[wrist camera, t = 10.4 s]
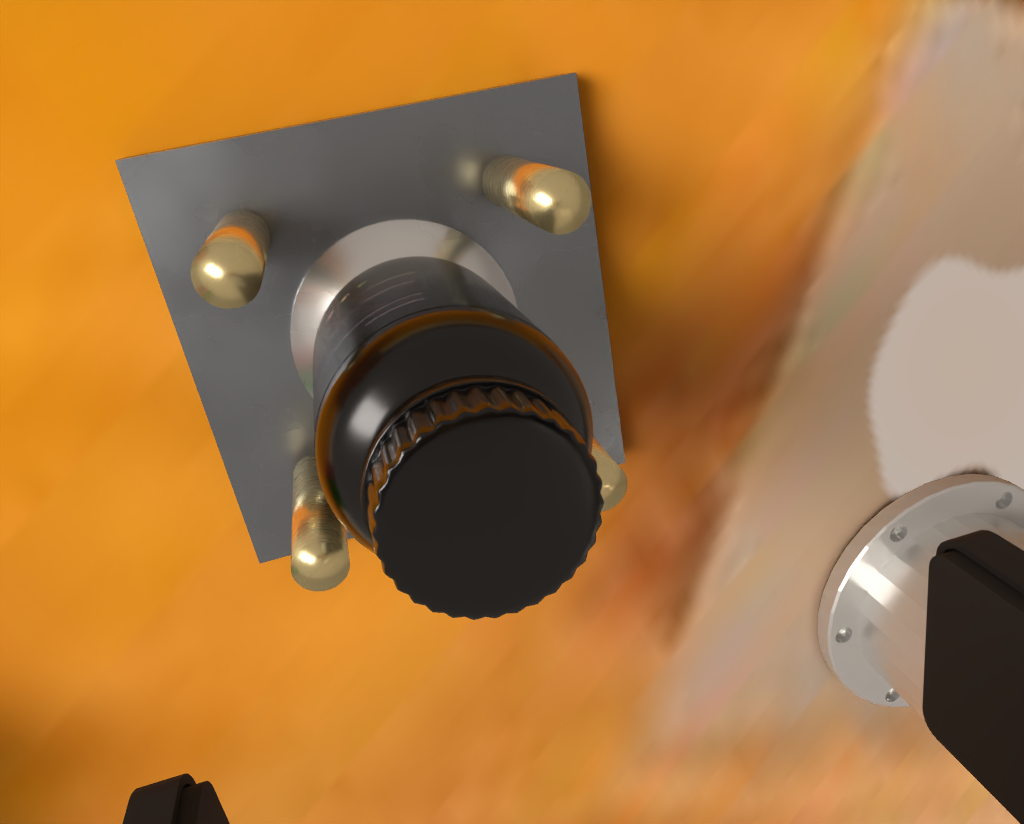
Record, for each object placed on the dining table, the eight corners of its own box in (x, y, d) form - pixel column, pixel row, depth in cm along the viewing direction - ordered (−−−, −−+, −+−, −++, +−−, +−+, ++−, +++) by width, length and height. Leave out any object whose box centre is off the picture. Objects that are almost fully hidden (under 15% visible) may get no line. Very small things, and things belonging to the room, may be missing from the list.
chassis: (564, 74, 26) (652, 64, 19) (614, 450, 31) (695, 540, 25) (123, 158, 24) (56, 178, 17) (261, 546, 29) (249, 673, 23)
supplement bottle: (553, 346, 28) (716, 504, 17) (418, 481, 28) (491, 719, 17) (412, 203, 25) (498, 282, 14) (265, 358, 25) (236, 549, 14)
